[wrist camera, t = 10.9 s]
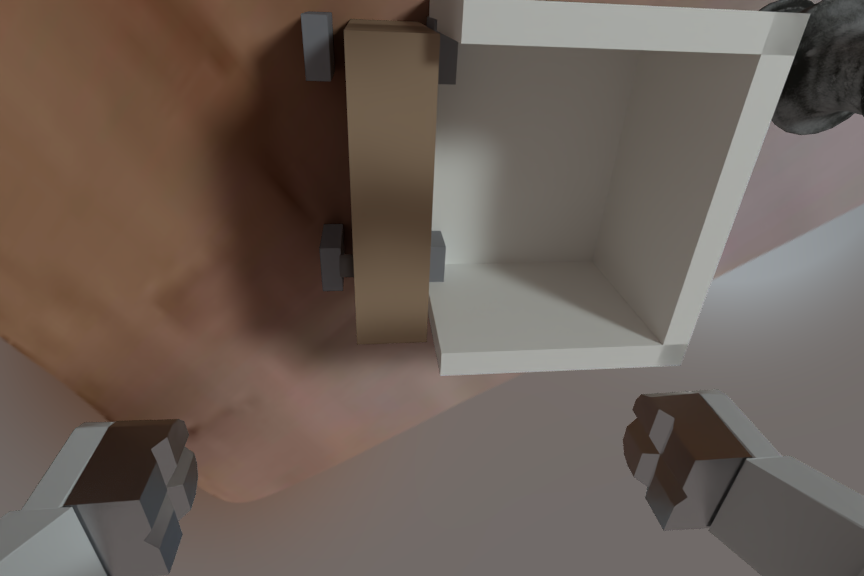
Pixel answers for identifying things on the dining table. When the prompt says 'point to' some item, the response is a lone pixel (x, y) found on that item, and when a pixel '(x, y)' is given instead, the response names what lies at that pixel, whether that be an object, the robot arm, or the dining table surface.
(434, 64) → the door
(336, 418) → the dining table surface
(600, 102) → the cabinet
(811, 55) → the chess piece
